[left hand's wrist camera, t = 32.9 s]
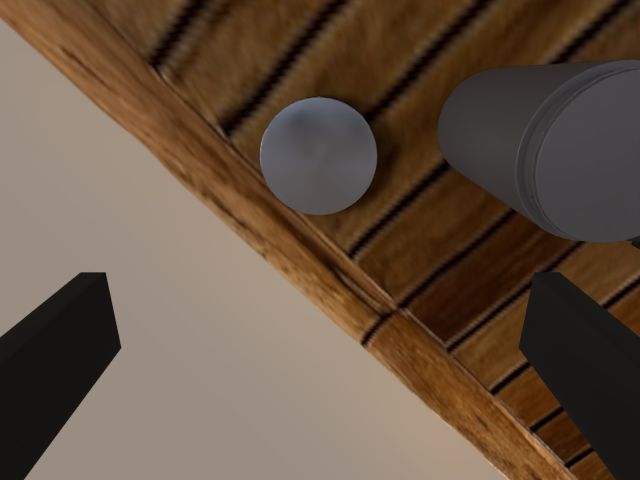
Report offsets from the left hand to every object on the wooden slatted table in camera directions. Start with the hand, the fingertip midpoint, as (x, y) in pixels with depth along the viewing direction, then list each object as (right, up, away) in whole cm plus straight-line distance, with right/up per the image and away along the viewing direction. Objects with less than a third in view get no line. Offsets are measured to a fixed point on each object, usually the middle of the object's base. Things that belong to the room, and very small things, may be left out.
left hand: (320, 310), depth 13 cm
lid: (0, +10, +26) cm, 28 cm away
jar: (+16, +13, +26) cm, 33 cm away
